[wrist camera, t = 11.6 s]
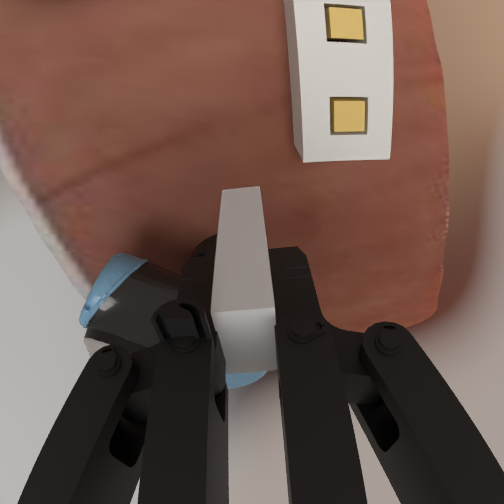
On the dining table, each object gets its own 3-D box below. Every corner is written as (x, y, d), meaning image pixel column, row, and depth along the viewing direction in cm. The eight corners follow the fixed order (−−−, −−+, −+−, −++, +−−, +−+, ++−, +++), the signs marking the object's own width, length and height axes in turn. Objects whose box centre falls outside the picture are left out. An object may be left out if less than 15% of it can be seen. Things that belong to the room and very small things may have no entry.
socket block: (369, 141, 45) (389, 159, 39) (293, 144, 46) (303, 162, 39) (365, -7, 31) (388, -15, 25) (282, -12, 31) (290, -24, 25)
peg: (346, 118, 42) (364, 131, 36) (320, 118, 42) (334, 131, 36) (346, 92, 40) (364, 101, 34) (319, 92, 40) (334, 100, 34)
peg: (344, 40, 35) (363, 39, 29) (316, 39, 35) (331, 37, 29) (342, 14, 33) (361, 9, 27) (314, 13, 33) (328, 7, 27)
